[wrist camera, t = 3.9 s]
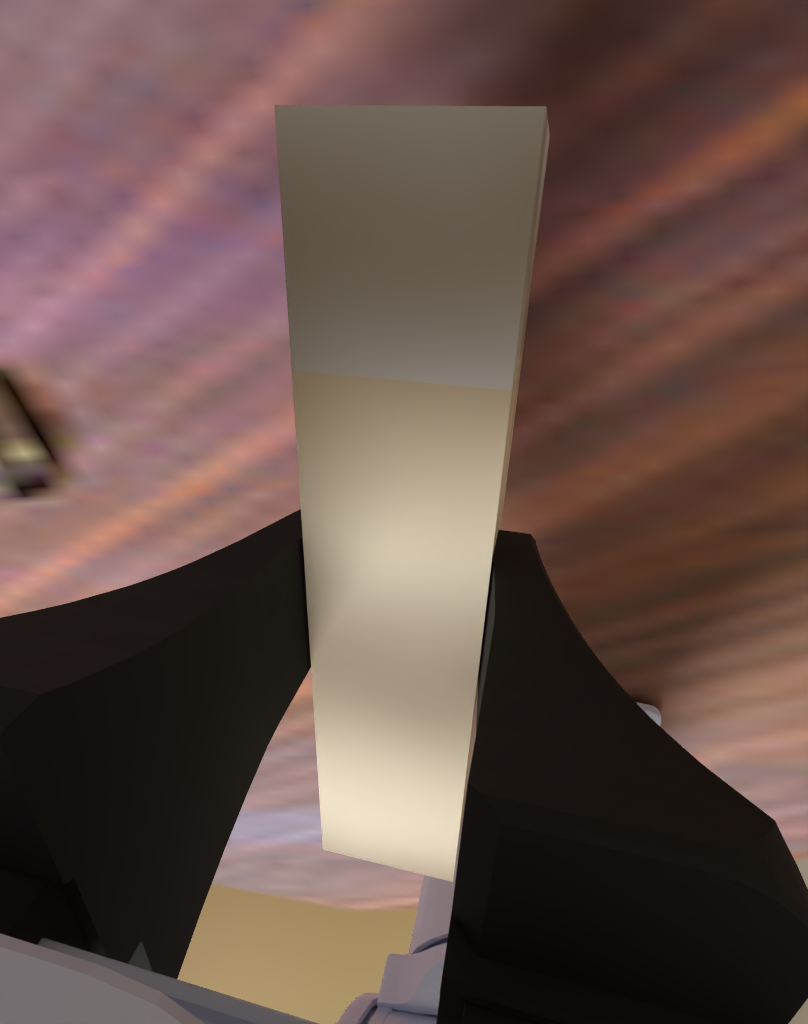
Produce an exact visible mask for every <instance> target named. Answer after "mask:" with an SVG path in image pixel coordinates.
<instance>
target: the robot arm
mask: <svg viewBox="0 0 808 1024" xmlns="http://www.w3.org/2000/svg"><path fill="white" fill-rule="evenodd" d="M310 668H311V658H310V643H309V627H308V612H307V597H306V581H305V566H304V550H303V535H302V520H301V509H300V510H298V511H296V512H294V513H292V514H290V515H288V516H286V517H284V518H282V519H281V520H279V521H277V522H275V523H273V524H271V525H269V526H267V527H265V528H263V529H261V530H259V531H257V532H255V533H253V534H251V535H249V536H247V537H246V538H244V539H242V540H240V541H238V542H236V543H233V544H231V545H229V546H227V547H225V548H223V549H220V550H218V551H216V552H214V553H212V554H210V555H207V556H205V557H203V558H201V559H199V560H196V561H194V562H192V563H190V564H187V565H185V566H182V567H180V568H177V569H175V570H172V571H170V572H167V573H165V574H162V575H159V576H156V577H153V578H151V579H148V580H145V581H142V582H139V583H136V584H133V585H130V586H127V587H124V588H120V589H117V590H113V591H110V592H106V593H103V594H99V595H96V596H92V597H89V598H85V599H82V600H78V601H75V602H71V603H67V604H63V605H59V606H54V607H50V608H45V609H41V610H37V611H32V612H27V613H22V614H17V615H12V616H7V617H2V618H0V1024H318V1023H315V1022H311V1021H308V1020H305V1019H302V1018H299V1017H295V1016H292V1015H289V1014H286V1013H283V1012H279V1011H276V1010H273V1009H270V1008H266V1007H263V1006H260V1005H257V1004H254V1003H251V1002H247V1001H244V1000H241V999H238V998H234V997H231V996H228V995H225V994H222V993H219V992H216V991H212V990H209V989H206V988H203V987H199V986H196V985H193V984H190V983H187V982H184V981H180V980H177V978H178V975H179V972H180V969H181V966H182V964H183V961H184V958H185V955H186V952H187V949H188V947H189V944H190V941H191V938H192V935H193V932H194V930H195V927H196V924H197V921H198V918H199V915H200V913H201V910H202V907H203V905H204V902H205V899H206V897H207V894H208V891H209V889H210V886H211V884H212V881H213V878H214V876H215V873H216V870H217V868H218V865H219V862H220V860H221V857H222V855H223V852H224V849H225V847H226V844H227V842H228V839H229V837H230V834H231V832H232V829H233V827H234V824H235V822H236V819H237V817H238V815H239V812H240V810H241V807H242V805H243V802H244V800H245V797H246V795H247V792H248V790H249V788H250V785H251V783H252V781H253V778H254V776H255V774H256V772H257V769H258V767H259V765H260V762H261V760H262V758H263V755H264V753H265V751H266V748H267V746H268V744H269V742H270V740H271V738H272V736H273V734H274V732H275V730H276V728H277V726H278V724H279V723H280V721H281V719H282V717H283V715H284V714H285V712H286V710H287V708H288V707H289V705H290V703H291V701H292V699H293V698H294V696H295V694H296V692H297V691H298V689H299V687H300V685H301V684H302V682H303V680H304V678H305V676H306V675H307V673H308V671H309V669H310ZM660 725H661V715H660V712H659V710H658V709H657V708H656V707H654V706H652V705H648V704H643V703H638V702H635V701H634V700H633V699H632V698H631V697H630V696H629V695H628V694H627V693H626V692H625V691H624V689H623V688H622V687H621V686H620V685H619V684H618V683H617V682H616V680H615V679H614V678H613V677H612V676H611V674H610V673H609V672H608V671H607V669H606V668H605V667H604V666H603V664H602V663H601V662H600V660H599V659H598V658H597V657H596V655H595V654H594V653H593V651H592V650H591V648H590V647H589V646H588V644H587V643H586V641H585V640H584V638H583V637H582V635H581V634H580V632H579V631H578V629H577V628H576V626H575V624H574V623H573V621H572V620H571V618H570V616H569V615H568V613H567V611H566V610H565V608H564V606H563V604H562V602H561V601H560V599H559V597H558V595H557V593H556V591H555V589H554V587H553V585H552V583H551V581H550V579H549V577H548V575H547V572H546V570H545V568H544V565H543V563H542V560H541V558H540V555H539V552H538V549H537V546H536V541H535V539H534V538H533V537H532V536H531V534H525V533H518V532H511V531H503V530H499V531H498V535H497V540H496V544H495V549H494V555H493V563H492V572H491V580H490V588H489V596H488V604H487V613H486V621H485V629H484V637H483V646H482V654H481V662H480V670H479V680H478V699H477V720H476V731H475V739H474V747H473V755H472V761H471V767H470V772H469V778H468V784H467V792H466V800H465V807H464V814H463V820H462V827H461V834H460V840H459V847H458V853H457V860H456V866H455V873H454V880H453V882H450V881H446V880H442V879H438V878H434V877H430V876H426V875H424V878H423V883H422V888H421V893H420V898H419V903H418V908H417V914H416V919H415V924H414V929H413V934H412V939H411V944H410V949H409V954H406V955H405V954H404V955H400V954H390V955H388V957H387V961H386V966H385V970H384V975H383V979H382V984H381V988H380V993H379V994H377V993H364V994H362V995H360V996H359V997H357V998H356V999H355V1000H354V1001H353V1002H352V1003H351V1004H350V1005H349V1006H348V1007H347V1009H346V1010H345V1012H344V1013H343V1015H342V1016H341V1018H340V1019H339V1021H338V1022H337V1023H336V1024H788V1023H789V1022H790V1021H791V1019H792V1018H793V1017H794V1016H795V1014H796V1013H797V1012H798V1010H799V1009H800V1008H801V1006H802V1005H803V1004H804V1002H805V1001H806V1000H807V998H808V889H807V887H806V885H805V882H804V880H803V878H802V876H801V873H800V871H799V869H798V867H797V864H796V862H795V860H794V858H793V856H792V854H791V853H790V851H789V849H788V847H787V845H786V843H785V841H784V839H783V837H782V834H781V832H780V830H779V828H778V826H777V824H776V822H775V820H773V819H772V818H771V817H770V816H768V815H767V814H766V813H764V812H763V811H762V810H760V809H759V808H758V807H757V806H755V805H754V804H753V803H751V802H750V801H749V800H747V799H746V798H745V797H744V796H742V795H741V794H740V793H738V792H737V791H736V790H734V789H733V788H732V787H731V786H729V785H728V784H727V783H725V782H724V781H723V780H722V779H720V778H719V777H718V776H716V775H715V774H714V773H712V772H711V771H710V770H709V769H707V768H706V767H705V766H704V765H702V764H701V763H700V762H699V761H698V760H697V759H695V758H694V757H693V756H692V755H691V754H690V753H689V752H687V751H686V750H685V749H684V748H683V747H682V746H681V745H680V744H678V743H677V742H676V741H675V740H674V739H673V738H672V737H671V736H669V735H668V734H667V733H666V732H665V731H664V730H663V729H662V728H661V727H660Z"/></svg>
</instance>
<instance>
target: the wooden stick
mask: <svg viewBox="0 0 808 1024" xmlns="http://www.w3.org/2000/svg"><path fill="white" fill-rule="evenodd" d="M275 120H276V135H277V150H278V166H279V181H280V196H281V212H282V227H283V243H284V258H285V273H286V289H287V304H288V320H289V335H290V350H291V366H292V381H293V397H294V412H295V427H296V443H297V458H298V473H299V489H300V504H301V520H302V535H303V550H304V566H305V581H306V597H307V612H308V627H309V643H310V658H311V673H312V689H313V704H314V720H315V735H316V750H317V766H318V781H319V797H320V812H321V827H322V843H323V850H327V851H331V852H335V853H339V854H343V855H347V856H351V857H355V858H359V859H363V860H367V861H371V862H375V863H379V864H383V865H387V866H391V867H395V868H399V869H403V870H407V871H411V872H415V873H419V874H422V875H426V876H430V877H434V878H438V879H442V880H446V881H450V882H453V880H454V873H455V866H456V860H457V853H458V847H459V840H460V834H461V827H462V820H463V814H464V807H465V800H466V792H467V784H468V778H469V772H470V767H471V761H472V755H473V747H474V739H475V731H476V720H477V699H478V680H479V670H480V662H481V654H482V646H483V637H484V629H485V621H486V613H487V604H488V596H489V588H490V580H491V572H492V563H493V555H494V549H495V544H496V540H497V535H498V531H499V530H501V524H502V516H503V508H504V500H505V492H506V484H507V476H508V468H509V460H510V452H511V444H512V436H513V428H514V420H515V412H516V404H517V396H518V388H519V380H520V372H521V364H522V356H523V348H524V340H525V332H526V324H527V316H528V308H529V300H530V292H531V284H532V276H533V268H534V260H535V252H536V244H537V236H538V228H539V220H540V212H541V204H542V196H543V188H544V180H545V172H546V164H547V156H548V148H549V140H550V133H549V125H548V117H547V109H546V106H343V105H275Z"/></svg>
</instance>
